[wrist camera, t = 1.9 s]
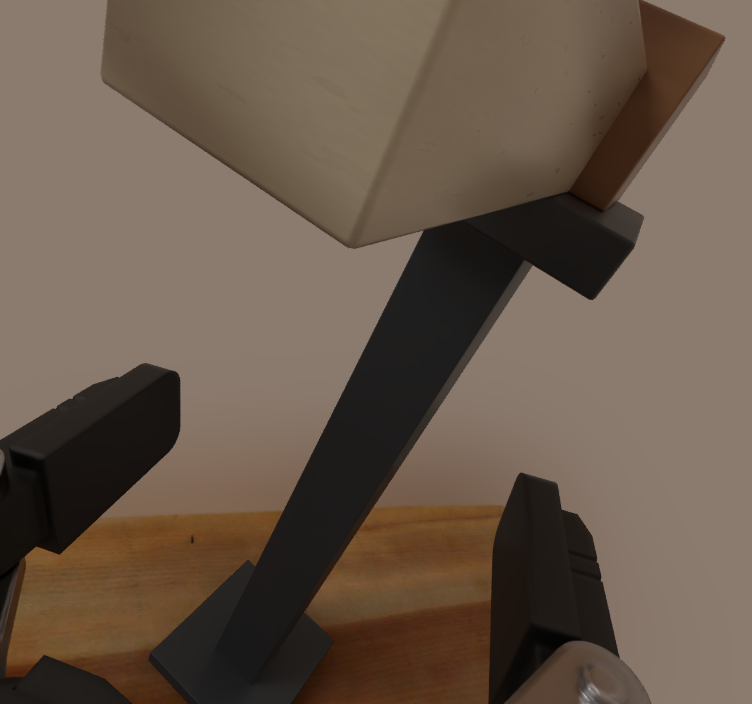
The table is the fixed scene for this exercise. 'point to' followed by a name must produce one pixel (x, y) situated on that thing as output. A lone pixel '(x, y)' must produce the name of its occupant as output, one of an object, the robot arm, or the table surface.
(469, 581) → the table surface
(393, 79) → the bar
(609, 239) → the stand
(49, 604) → the table surface
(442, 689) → the table surface
